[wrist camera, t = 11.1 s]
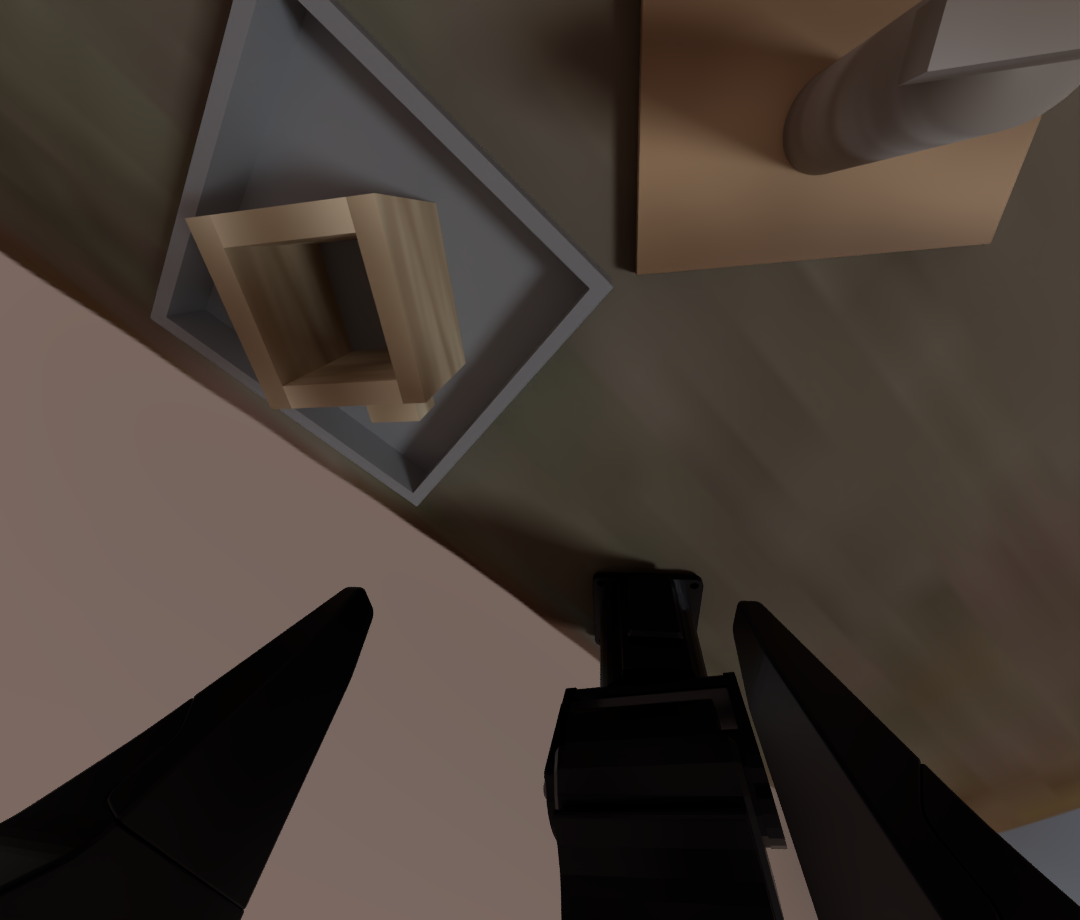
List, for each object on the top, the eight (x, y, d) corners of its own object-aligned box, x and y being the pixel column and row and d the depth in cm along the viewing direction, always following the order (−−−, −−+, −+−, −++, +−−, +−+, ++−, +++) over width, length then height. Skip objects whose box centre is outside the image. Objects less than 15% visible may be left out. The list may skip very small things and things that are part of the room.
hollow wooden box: (435, 202, 16) (374, 193, 11) (473, 403, 20) (438, 450, 16) (291, 221, 17) (184, 218, 12) (355, 407, 21) (291, 454, 17)
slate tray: (611, 279, 17) (613, 287, 15) (433, 480, 23) (416, 506, 21) (308, -27, 13) (253, -76, 11) (198, 308, 20) (150, 318, 18)
